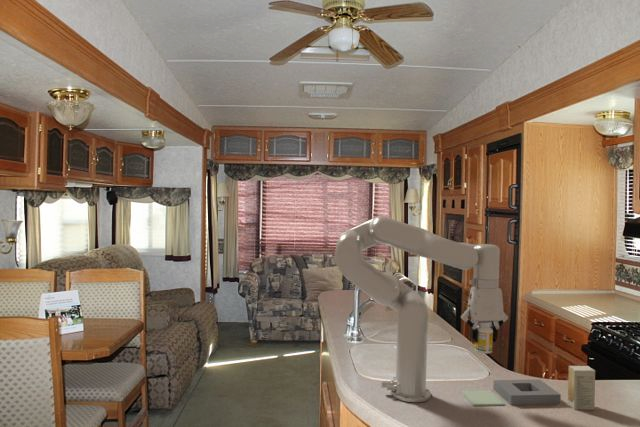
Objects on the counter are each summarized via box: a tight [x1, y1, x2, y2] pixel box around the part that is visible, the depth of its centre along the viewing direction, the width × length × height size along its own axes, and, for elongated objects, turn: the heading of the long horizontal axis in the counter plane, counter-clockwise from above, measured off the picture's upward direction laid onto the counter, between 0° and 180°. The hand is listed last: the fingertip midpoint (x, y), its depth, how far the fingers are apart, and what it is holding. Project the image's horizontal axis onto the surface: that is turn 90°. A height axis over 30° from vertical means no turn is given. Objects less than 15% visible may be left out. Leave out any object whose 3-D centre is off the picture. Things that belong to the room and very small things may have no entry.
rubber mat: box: [460, 389, 506, 407], centre depth 151 cm, size 10×10×1 cm
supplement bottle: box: [474, 321, 494, 354], centre depth 150 cm, size 5×5×10 cm
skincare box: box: [567, 365, 596, 411], centre depth 146 cm, size 6×4×12 cm
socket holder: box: [492, 379, 562, 406], centre depth 153 cm, size 16×12×3 cm
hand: (483, 340), depth 150 cm, fingers closed on supplement bottle, 5 cm apart
